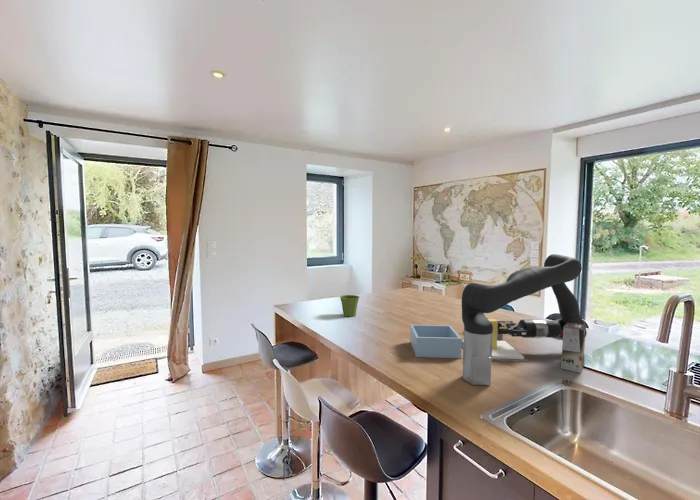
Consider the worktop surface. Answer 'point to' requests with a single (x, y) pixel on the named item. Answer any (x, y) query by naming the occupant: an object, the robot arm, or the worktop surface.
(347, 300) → the plant pot
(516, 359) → the mat
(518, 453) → the worktop surface
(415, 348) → the tub
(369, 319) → the worktop surface
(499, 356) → the lid
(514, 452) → the worktop surface
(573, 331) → the coffee box
